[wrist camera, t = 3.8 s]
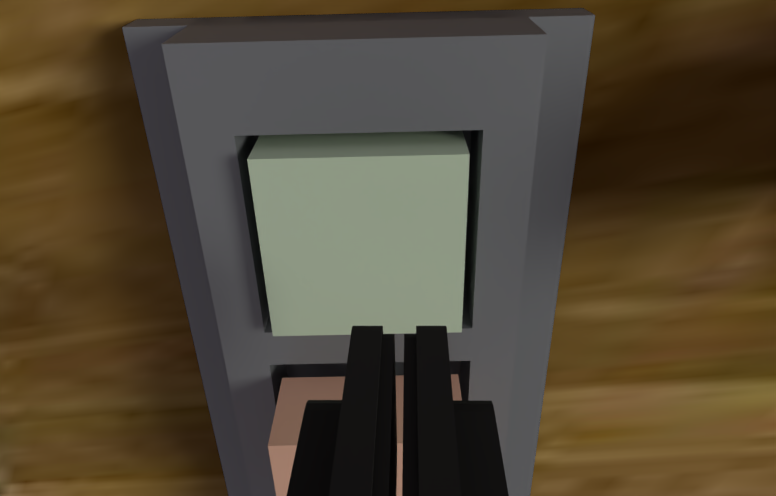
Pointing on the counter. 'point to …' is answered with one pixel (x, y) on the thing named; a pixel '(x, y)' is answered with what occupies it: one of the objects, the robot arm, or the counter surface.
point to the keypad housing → (366, 115)
